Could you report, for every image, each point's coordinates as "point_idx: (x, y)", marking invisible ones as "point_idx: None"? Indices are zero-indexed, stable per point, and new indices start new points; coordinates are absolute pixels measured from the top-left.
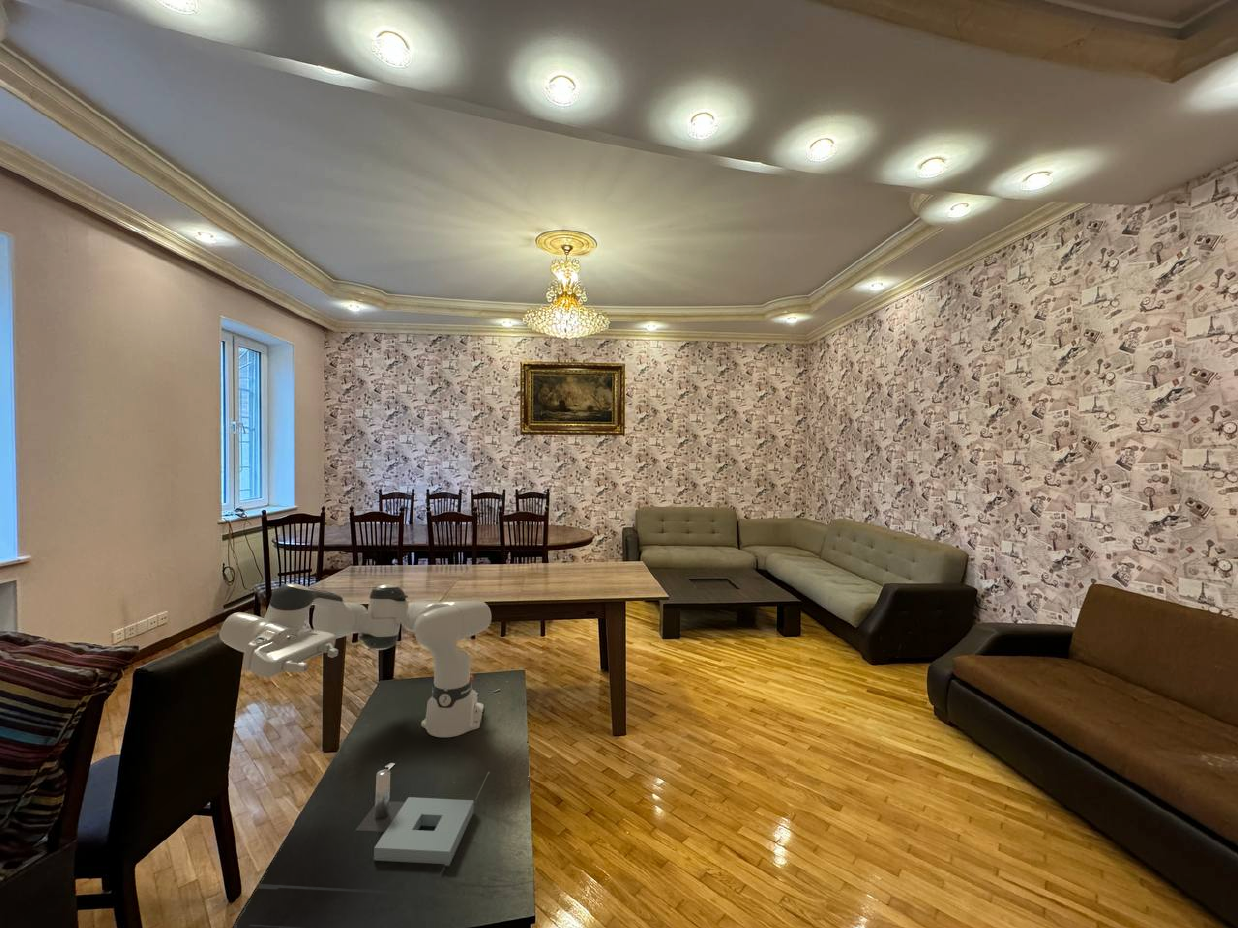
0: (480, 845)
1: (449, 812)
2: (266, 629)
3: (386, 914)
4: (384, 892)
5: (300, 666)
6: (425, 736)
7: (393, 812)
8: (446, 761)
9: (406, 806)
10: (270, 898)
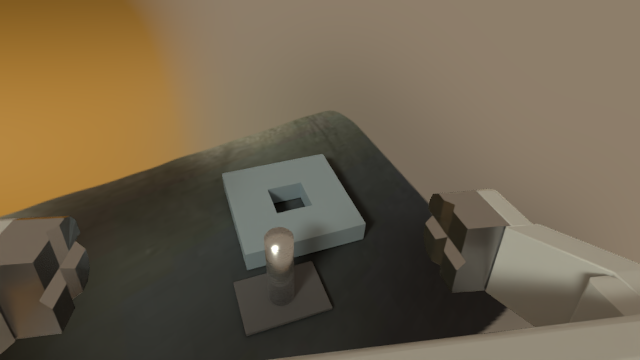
0: (277, 159)
1: (258, 185)
2: None
3: (405, 183)
4: (387, 201)
5: (502, 202)
6: None
7: (266, 282)
8: None
9: None
10: (491, 313)
